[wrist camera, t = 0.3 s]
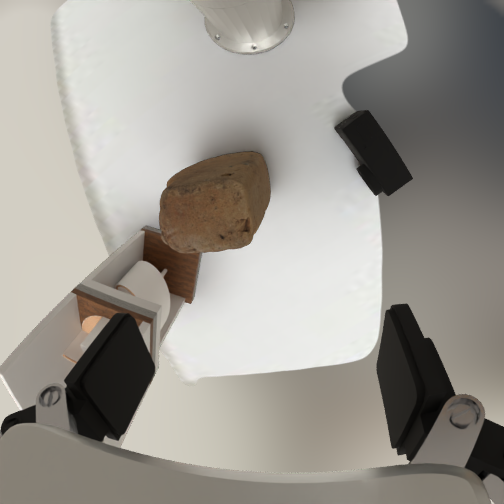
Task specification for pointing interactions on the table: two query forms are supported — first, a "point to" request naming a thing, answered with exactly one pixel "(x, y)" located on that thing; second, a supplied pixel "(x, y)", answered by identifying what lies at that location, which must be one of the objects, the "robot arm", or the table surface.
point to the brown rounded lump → (215, 203)
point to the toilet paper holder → (105, 314)
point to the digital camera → (374, 153)
